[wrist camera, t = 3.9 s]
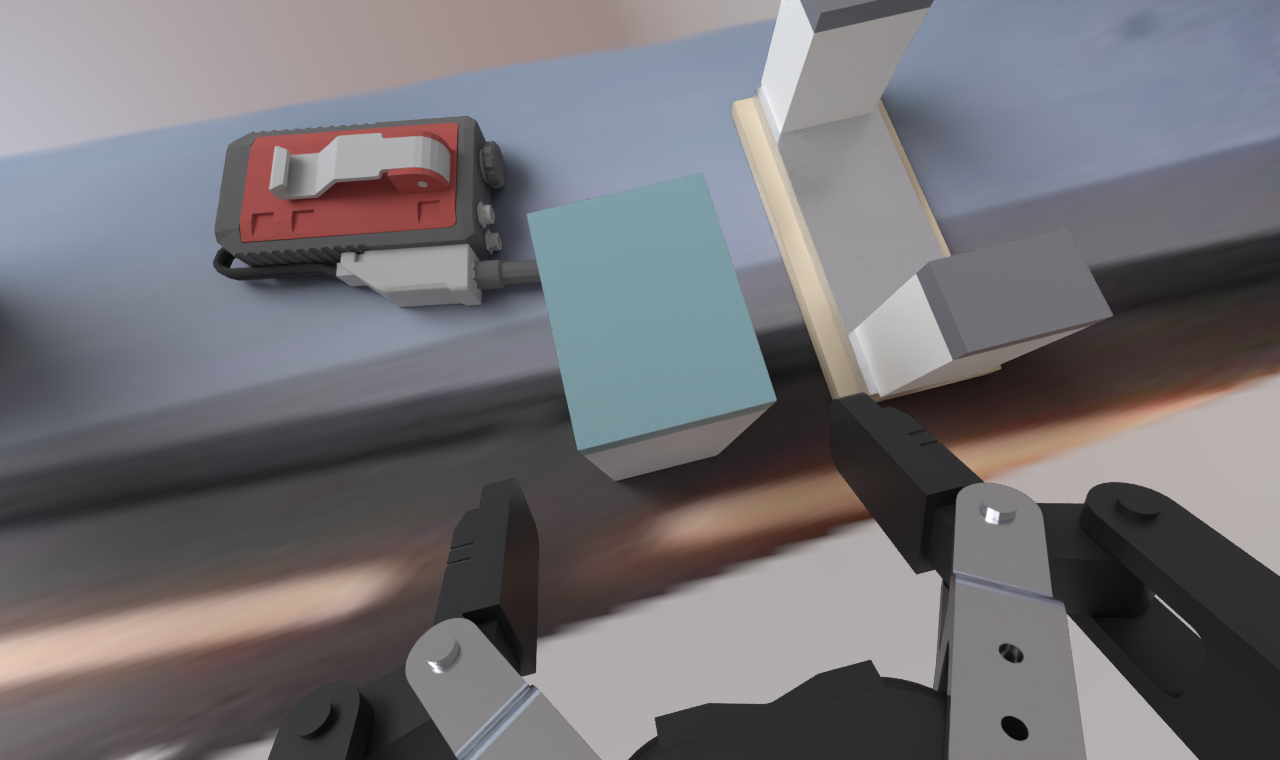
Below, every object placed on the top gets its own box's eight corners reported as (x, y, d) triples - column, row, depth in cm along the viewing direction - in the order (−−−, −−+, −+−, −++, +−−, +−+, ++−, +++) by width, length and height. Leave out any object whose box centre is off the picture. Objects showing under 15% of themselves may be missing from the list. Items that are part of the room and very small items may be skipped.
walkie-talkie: (233, 327, 24) (651, 297, 24) (144, 287, 20) (651, 252, 20) (256, 167, 27) (640, 139, 26) (180, 102, 22) (637, 68, 22)
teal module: (615, 481, 22) (577, 450, 11) (584, 350, 23) (526, 213, 13) (717, 455, 22) (776, 400, 11) (680, 327, 23) (702, 172, 13)
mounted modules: (880, 397, 21) (968, 352, 15) (761, 83, 25) (793, -49, 19) (985, 370, 21) (1113, 315, 15) (850, 62, 25) (910, -75, 19)
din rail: (862, 399, 22) (870, 394, 21) (752, 100, 25) (755, 88, 25) (979, 369, 22) (991, 364, 21) (852, 77, 26) (858, 64, 25)
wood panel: (836, 412, 22) (843, 408, 21) (731, 113, 26) (733, 101, 25) (989, 373, 22) (1001, 368, 22) (862, 83, 26) (868, 70, 26)
